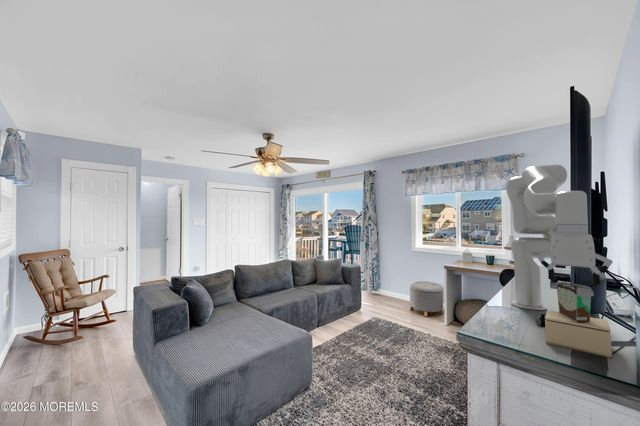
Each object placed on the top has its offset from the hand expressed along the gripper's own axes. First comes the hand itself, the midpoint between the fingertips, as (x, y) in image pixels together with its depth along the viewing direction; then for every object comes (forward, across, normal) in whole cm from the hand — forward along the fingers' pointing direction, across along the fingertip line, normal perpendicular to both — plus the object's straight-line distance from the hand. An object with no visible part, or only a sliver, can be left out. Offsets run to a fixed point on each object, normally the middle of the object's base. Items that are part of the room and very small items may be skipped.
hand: (573, 284), depth 85 cm
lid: (+11, 0, -1) cm, 11 cm away
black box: (+20, -8, +15) cm, 26 cm away
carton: (+18, 0, -1) cm, 18 cm away
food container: (+10, +1, -1) cm, 11 cm away
